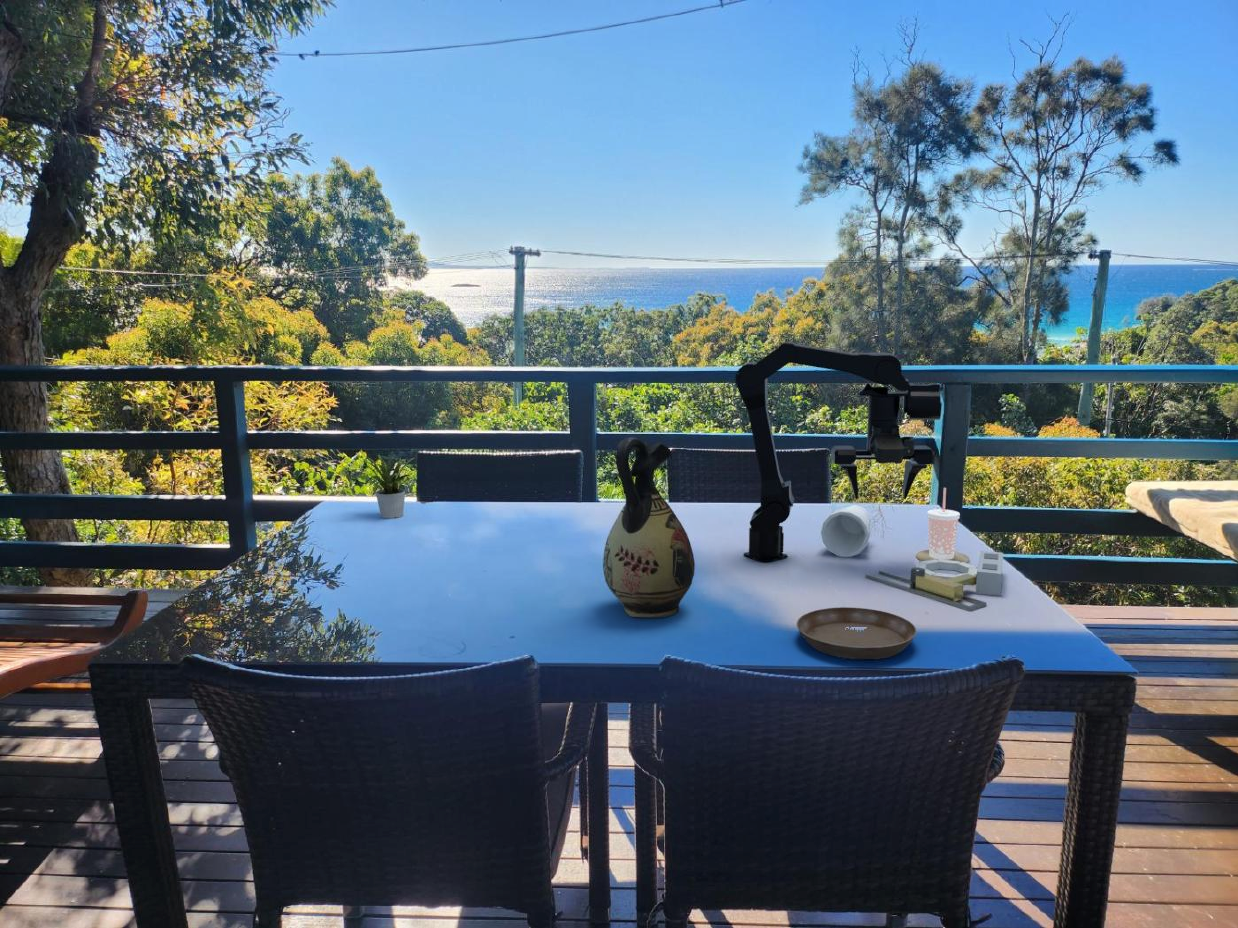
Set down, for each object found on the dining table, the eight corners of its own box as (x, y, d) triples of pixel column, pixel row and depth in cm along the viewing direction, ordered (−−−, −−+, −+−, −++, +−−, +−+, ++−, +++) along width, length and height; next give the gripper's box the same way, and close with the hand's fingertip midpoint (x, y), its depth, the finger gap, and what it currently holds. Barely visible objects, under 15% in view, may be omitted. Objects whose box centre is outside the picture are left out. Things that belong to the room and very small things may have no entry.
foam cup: (870, 546, 193) (861, 563, 182) (828, 533, 197) (816, 549, 185) (882, 505, 191) (873, 519, 179) (839, 492, 194) (827, 505, 182)
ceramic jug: (640, 589, 165) (639, 426, 159) (712, 606, 155) (712, 433, 149) (578, 615, 152) (574, 439, 146) (651, 636, 142) (650, 447, 136)
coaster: (947, 568, 174) (947, 566, 174) (905, 556, 182) (905, 554, 182) (979, 559, 179) (979, 558, 179) (937, 548, 187) (937, 546, 187)
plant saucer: (774, 633, 143) (774, 614, 143) (867, 617, 150) (867, 599, 149) (840, 675, 127) (841, 654, 126) (941, 655, 133) (942, 635, 133)
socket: (910, 586, 164) (911, 564, 163) (918, 564, 177) (919, 543, 176) (1000, 595, 158) (1001, 573, 157) (1001, 572, 171) (1003, 551, 170)
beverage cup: (944, 562, 176) (948, 492, 174) (918, 555, 181) (921, 487, 179) (964, 557, 180) (968, 488, 177) (938, 550, 185) (941, 483, 182)
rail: (969, 611, 151) (970, 607, 151) (865, 577, 169) (865, 574, 169) (986, 605, 153) (986, 602, 153) (881, 573, 172) (881, 570, 172)
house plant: (345, 521, 218) (340, 454, 215) (376, 508, 231) (372, 445, 228) (397, 524, 214) (393, 457, 211) (426, 511, 227) (422, 447, 224)
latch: (953, 601, 154) (954, 582, 154) (907, 587, 163) (908, 568, 162) (983, 592, 159) (984, 574, 158) (936, 578, 167) (937, 561, 166)
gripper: (840, 425, 166) (838, 507, 169) (944, 424, 165) (940, 508, 167) (831, 417, 177) (829, 495, 180) (929, 416, 175) (925, 495, 178)
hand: (880, 498), depth 176 cm, fingers open, 9 cm apart
